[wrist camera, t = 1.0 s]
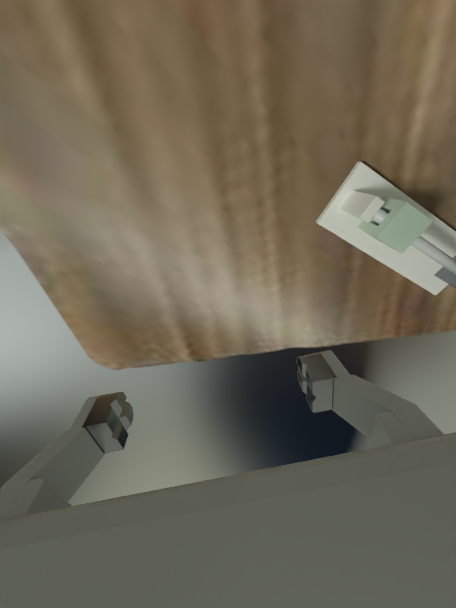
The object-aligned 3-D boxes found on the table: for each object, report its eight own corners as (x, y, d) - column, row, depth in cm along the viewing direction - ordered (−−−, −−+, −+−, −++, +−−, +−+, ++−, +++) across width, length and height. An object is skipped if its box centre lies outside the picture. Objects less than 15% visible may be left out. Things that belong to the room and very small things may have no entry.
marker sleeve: (382, 196, 34) (406, 202, 29) (406, 213, 35) (433, 221, 31) (357, 227, 36) (376, 237, 32) (380, 242, 38) (402, 253, 33)
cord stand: (357, 161, 35) (396, 162, 27) (479, 250, 43) (537, 271, 35) (315, 222, 40) (338, 237, 32) (431, 292, 47) (473, 320, 39)
